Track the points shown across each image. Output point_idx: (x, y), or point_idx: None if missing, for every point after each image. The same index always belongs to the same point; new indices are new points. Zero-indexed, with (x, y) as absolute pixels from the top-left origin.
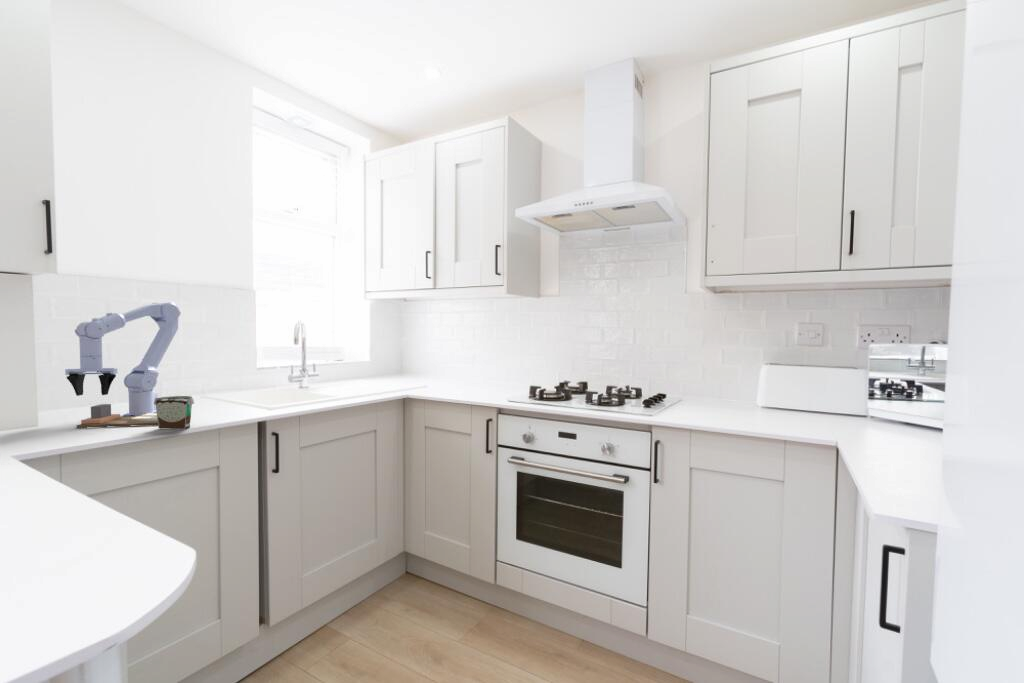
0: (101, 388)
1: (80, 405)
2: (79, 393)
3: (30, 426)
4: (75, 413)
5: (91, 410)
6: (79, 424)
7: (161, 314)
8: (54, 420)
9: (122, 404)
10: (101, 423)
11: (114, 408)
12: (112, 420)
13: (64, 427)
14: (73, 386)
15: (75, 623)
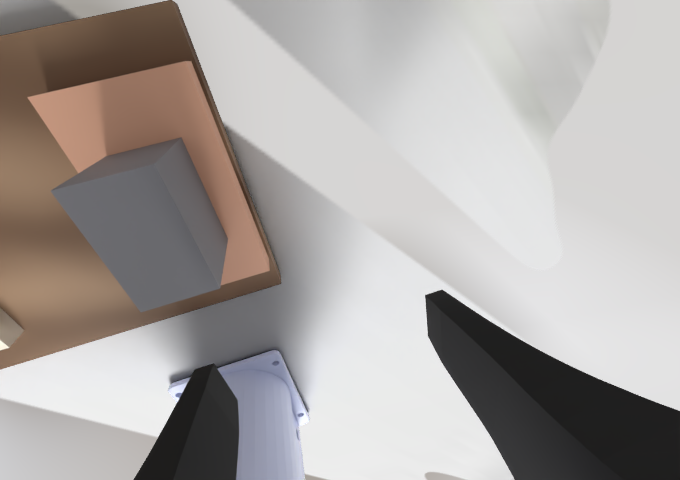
0: (182, 436)
1: None
2: (435, 319)
3: (540, 80)
4: None
5: (158, 154)
6: (188, 43)
7: None
8: (519, 230)
9: (476, 457)
10: (38, 92)
11: (455, 422)
12: None
13: (314, 50)
14: (530, 351)
15: None
